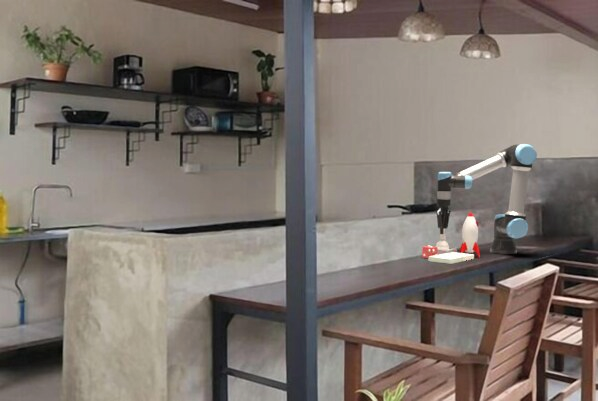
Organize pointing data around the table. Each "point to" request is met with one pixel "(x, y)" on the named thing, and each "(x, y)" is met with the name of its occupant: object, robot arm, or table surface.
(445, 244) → the dome
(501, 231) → the robot arm
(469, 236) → the rocket
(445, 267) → the table surface
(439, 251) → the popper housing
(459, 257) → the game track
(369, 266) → the table surface
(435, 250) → the red die
